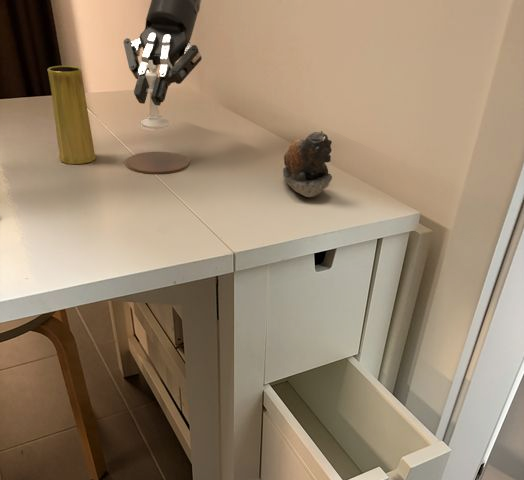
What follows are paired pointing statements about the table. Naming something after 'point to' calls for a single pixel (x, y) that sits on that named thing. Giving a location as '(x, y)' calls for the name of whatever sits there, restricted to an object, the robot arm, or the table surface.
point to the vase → (71, 115)
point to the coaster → (157, 162)
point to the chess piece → (153, 105)
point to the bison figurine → (308, 164)
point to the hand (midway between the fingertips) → (147, 101)
